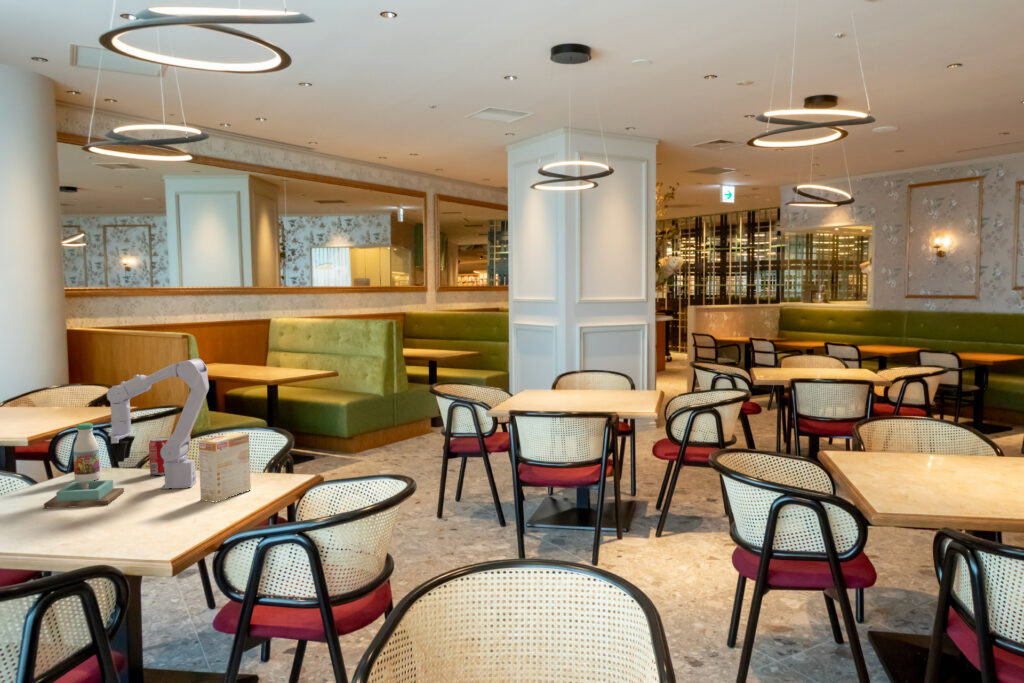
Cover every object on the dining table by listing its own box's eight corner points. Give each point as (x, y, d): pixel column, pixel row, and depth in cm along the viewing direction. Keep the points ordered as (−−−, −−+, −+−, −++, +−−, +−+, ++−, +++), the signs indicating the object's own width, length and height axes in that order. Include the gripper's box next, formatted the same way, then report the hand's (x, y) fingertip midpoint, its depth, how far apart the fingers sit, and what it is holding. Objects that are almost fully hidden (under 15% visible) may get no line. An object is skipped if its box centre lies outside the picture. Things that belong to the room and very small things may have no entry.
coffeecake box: (235, 488, 237) (234, 431, 236) (251, 490, 234) (250, 433, 233) (199, 500, 224) (197, 440, 222) (215, 503, 221) (213, 442, 219)
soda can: (165, 476, 252) (164, 440, 251) (146, 476, 252) (144, 440, 251) (175, 471, 259) (174, 436, 258) (156, 471, 259) (155, 436, 258)
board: (123, 492, 232) (123, 476, 232) (108, 505, 219) (107, 487, 218) (64, 495, 229) (63, 478, 228) (44, 508, 215) (43, 490, 215)
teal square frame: (113, 488, 231) (112, 479, 231) (99, 499, 219) (98, 490, 219) (73, 490, 229) (72, 481, 228) (56, 501, 217) (56, 492, 217)
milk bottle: (71, 480, 247) (69, 424, 246) (96, 475, 253) (93, 421, 251) (78, 484, 242) (75, 427, 241) (103, 479, 248) (100, 423, 246)
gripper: (115, 417, 243) (117, 455, 244) (100, 424, 229) (102, 465, 230) (137, 416, 245) (139, 454, 246) (123, 423, 231) (125, 464, 232)
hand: (122, 459), depth 238 cm, fingers open, 4 cm apart
